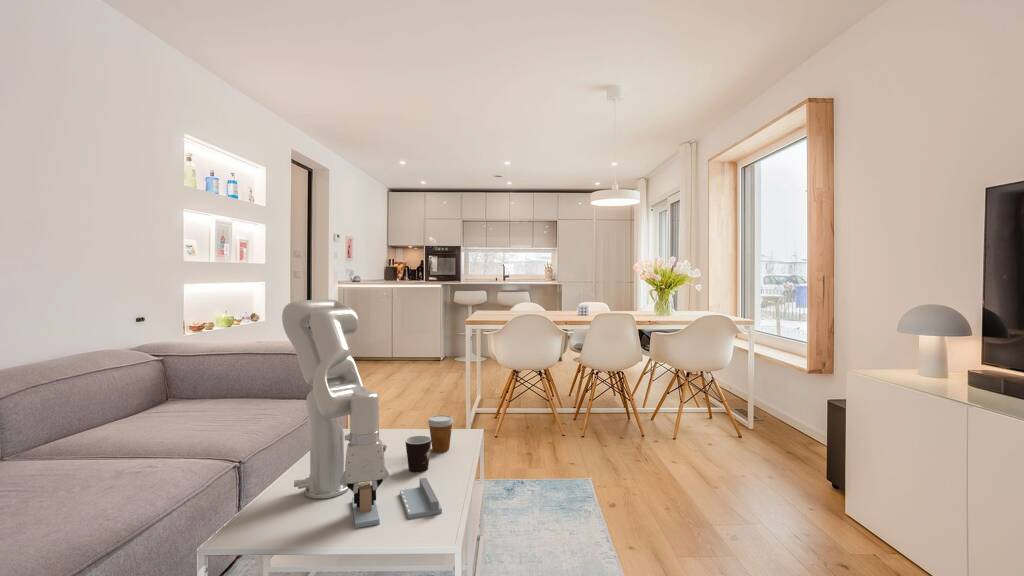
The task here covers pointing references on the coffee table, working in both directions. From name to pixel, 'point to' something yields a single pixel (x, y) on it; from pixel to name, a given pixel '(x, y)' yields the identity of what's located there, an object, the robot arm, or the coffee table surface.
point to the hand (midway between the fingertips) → (365, 503)
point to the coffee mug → (418, 453)
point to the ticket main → (420, 500)
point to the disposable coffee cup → (440, 432)
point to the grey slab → (365, 507)
